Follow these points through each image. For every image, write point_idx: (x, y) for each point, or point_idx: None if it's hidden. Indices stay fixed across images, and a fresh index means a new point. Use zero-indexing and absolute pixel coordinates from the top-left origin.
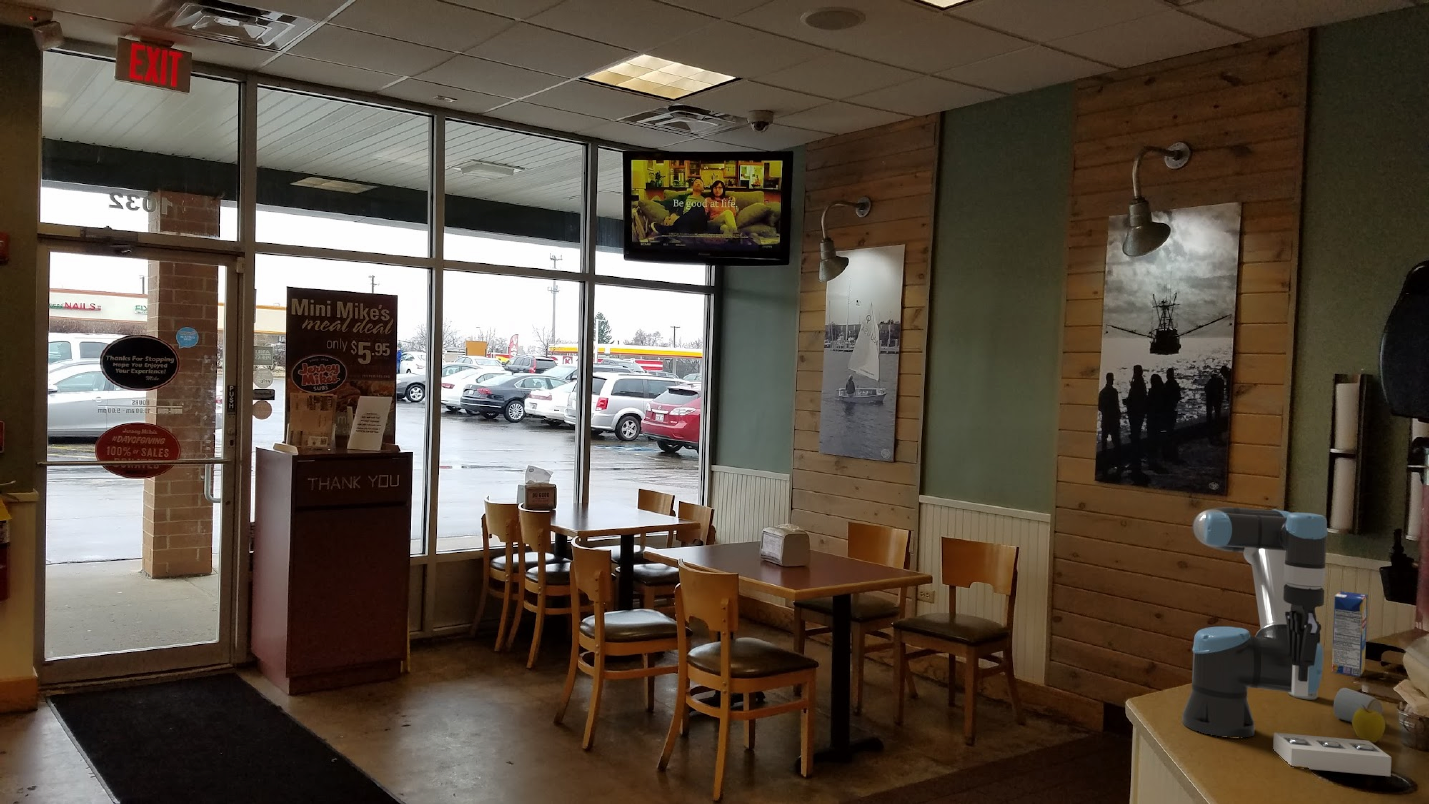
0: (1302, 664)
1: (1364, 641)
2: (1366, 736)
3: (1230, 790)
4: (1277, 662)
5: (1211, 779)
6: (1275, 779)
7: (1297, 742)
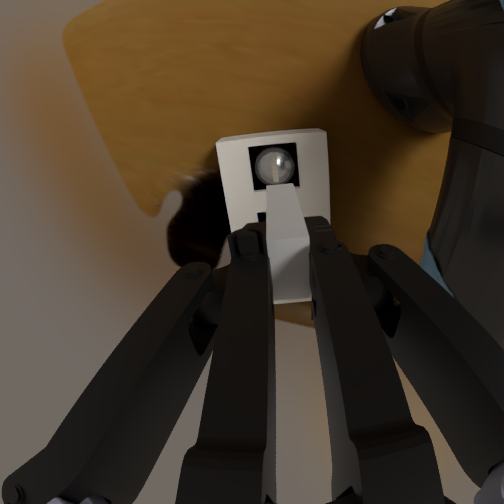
0: (182, 270)
1: None
2: (397, 302)
3: (70, 47)
4: (478, 211)
5: (103, 17)
6: (141, 102)
7: (258, 163)
